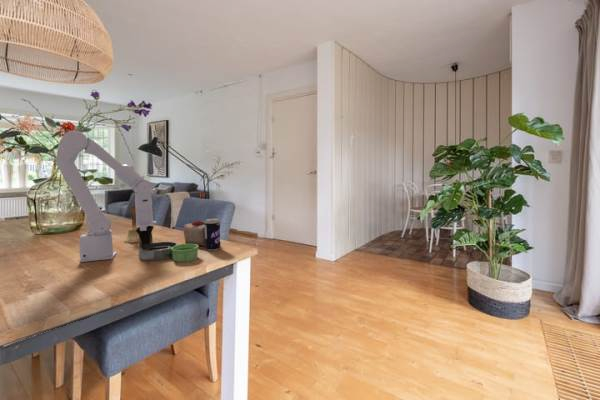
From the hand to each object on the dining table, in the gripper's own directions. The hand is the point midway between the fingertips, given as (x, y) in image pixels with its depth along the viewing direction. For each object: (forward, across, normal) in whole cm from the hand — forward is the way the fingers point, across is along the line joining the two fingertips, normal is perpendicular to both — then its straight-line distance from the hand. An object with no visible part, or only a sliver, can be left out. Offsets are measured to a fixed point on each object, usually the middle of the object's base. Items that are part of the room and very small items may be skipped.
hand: (146, 245), depth 114 cm
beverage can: (+2, -9, -24) cm, 26 cm away
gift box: (+2, +3, -20) cm, 20 cm away
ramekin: (+2, -17, -14) cm, 22 cm away
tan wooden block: (+2, 0, 0) cm, 2 cm away
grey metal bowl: (+2, -9, -5) cm, 10 cm away
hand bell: (+2, +20, +6) cm, 21 cm away
